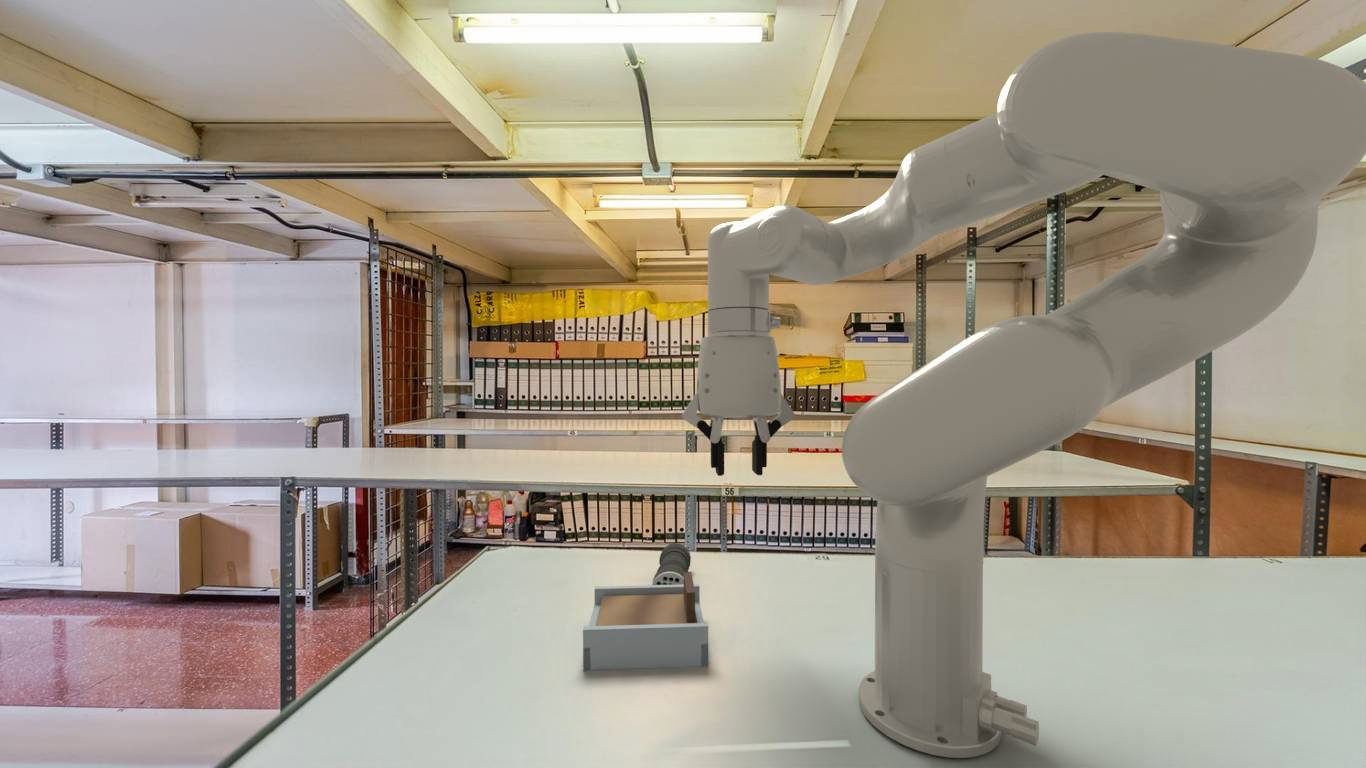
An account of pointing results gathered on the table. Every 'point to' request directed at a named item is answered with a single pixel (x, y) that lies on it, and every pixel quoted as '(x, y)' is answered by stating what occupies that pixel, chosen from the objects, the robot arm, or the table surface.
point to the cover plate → (649, 608)
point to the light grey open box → (644, 637)
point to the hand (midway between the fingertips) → (738, 472)
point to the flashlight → (672, 565)
